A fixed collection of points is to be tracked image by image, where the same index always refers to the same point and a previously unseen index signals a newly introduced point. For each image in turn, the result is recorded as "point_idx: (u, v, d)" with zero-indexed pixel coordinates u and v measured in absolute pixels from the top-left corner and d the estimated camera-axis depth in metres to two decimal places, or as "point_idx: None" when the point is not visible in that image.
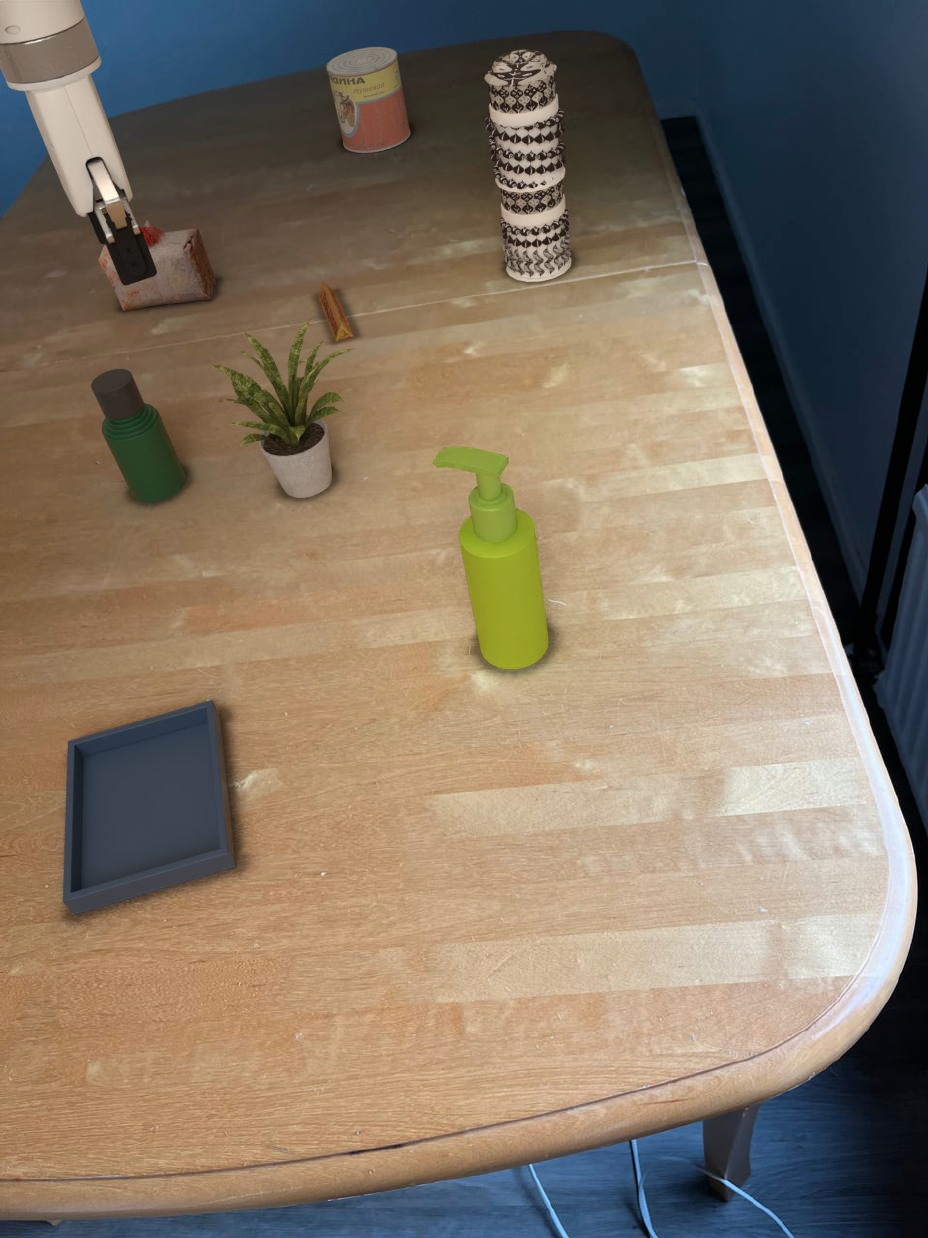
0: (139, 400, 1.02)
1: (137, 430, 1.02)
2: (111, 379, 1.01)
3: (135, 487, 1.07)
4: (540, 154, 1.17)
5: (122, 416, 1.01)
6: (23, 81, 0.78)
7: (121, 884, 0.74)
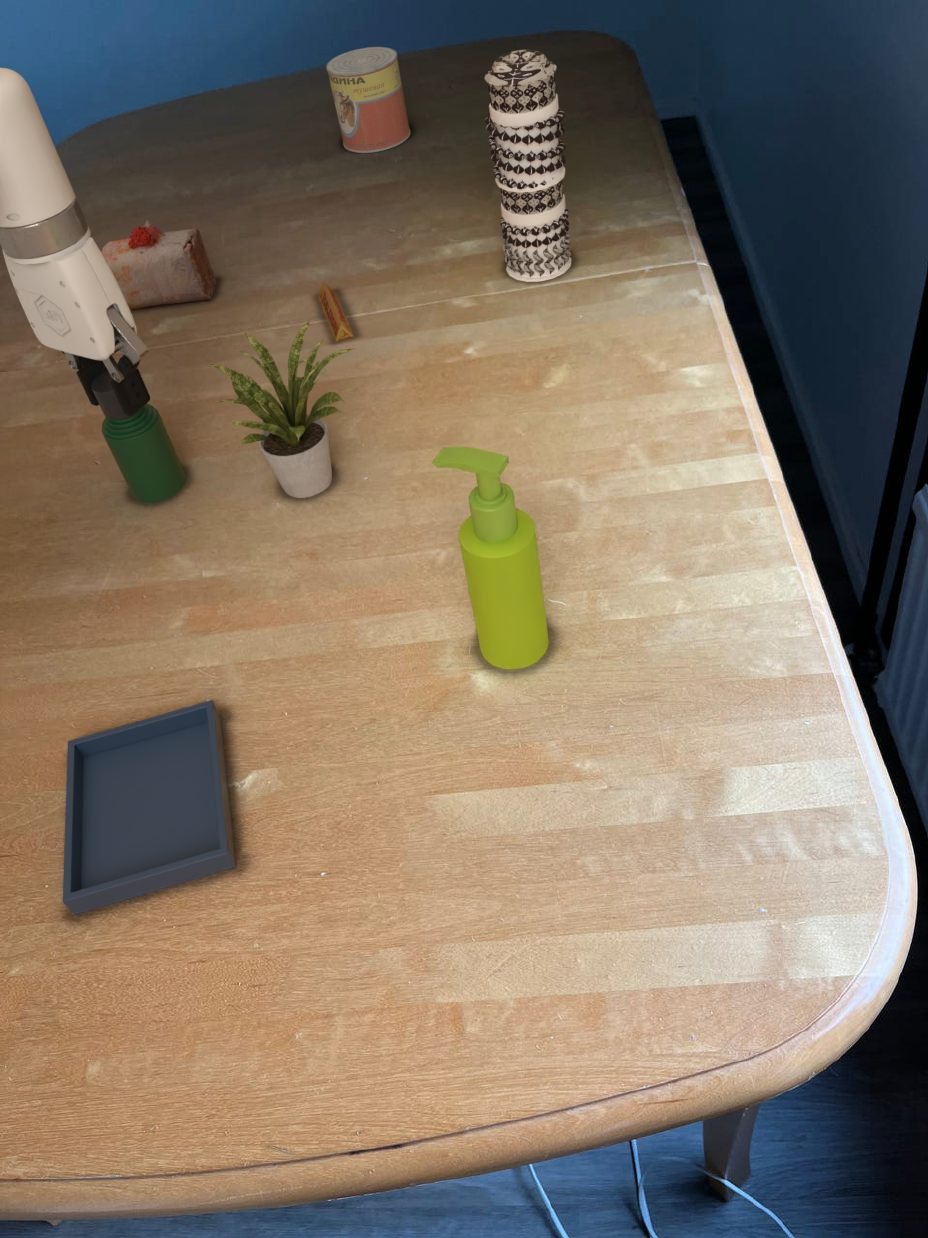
0: None
1: (137, 430, 1.02)
2: (111, 379, 1.01)
3: (135, 487, 1.07)
4: (540, 154, 1.17)
5: (122, 416, 1.01)
6: (43, 254, 0.87)
7: (121, 884, 0.74)
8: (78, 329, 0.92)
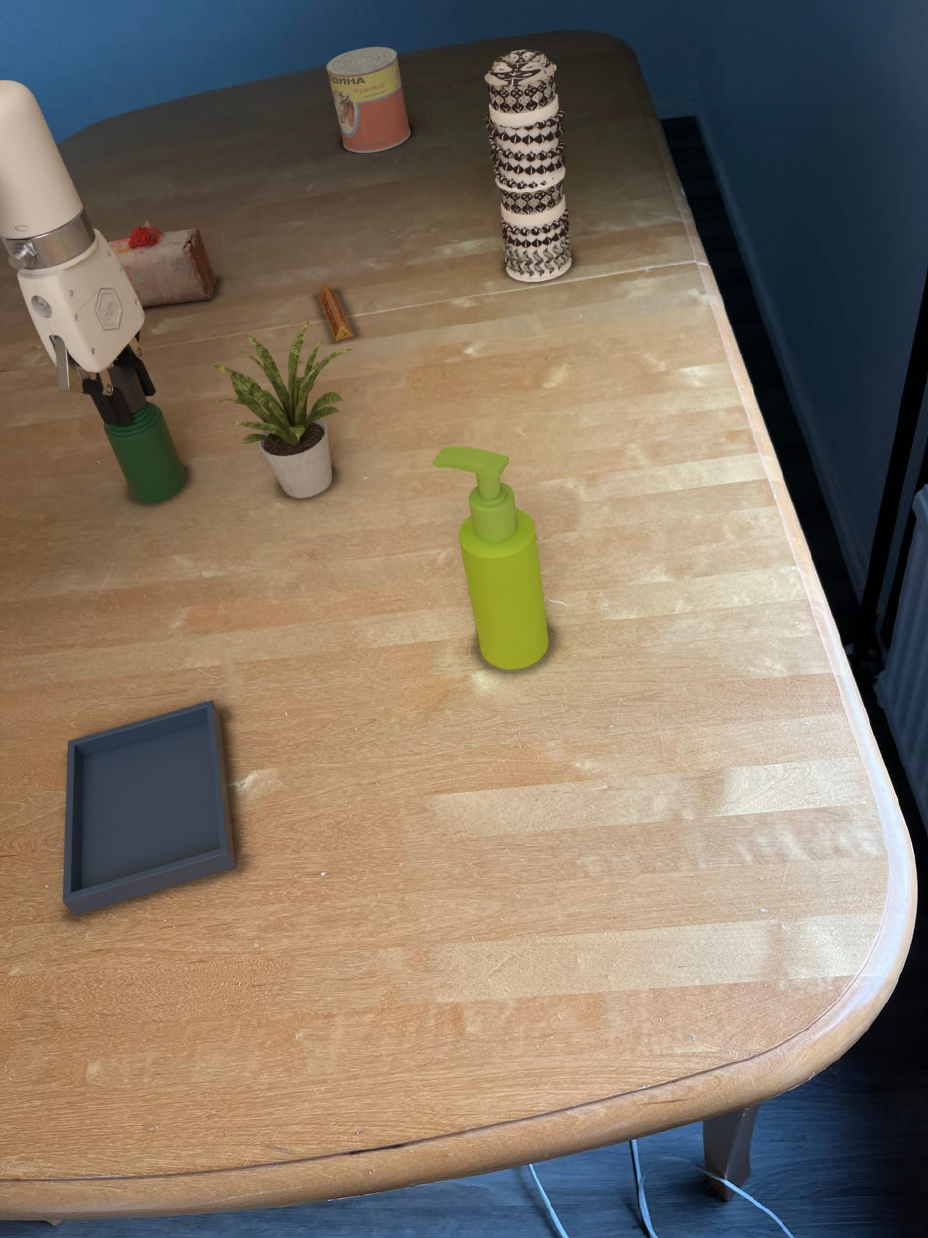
0: None
1: (140, 428, 1.02)
2: (113, 376, 1.00)
3: (135, 485, 1.07)
4: (540, 154, 1.17)
5: (144, 395, 1.03)
6: None
7: (121, 884, 0.74)
8: (127, 300, 0.97)
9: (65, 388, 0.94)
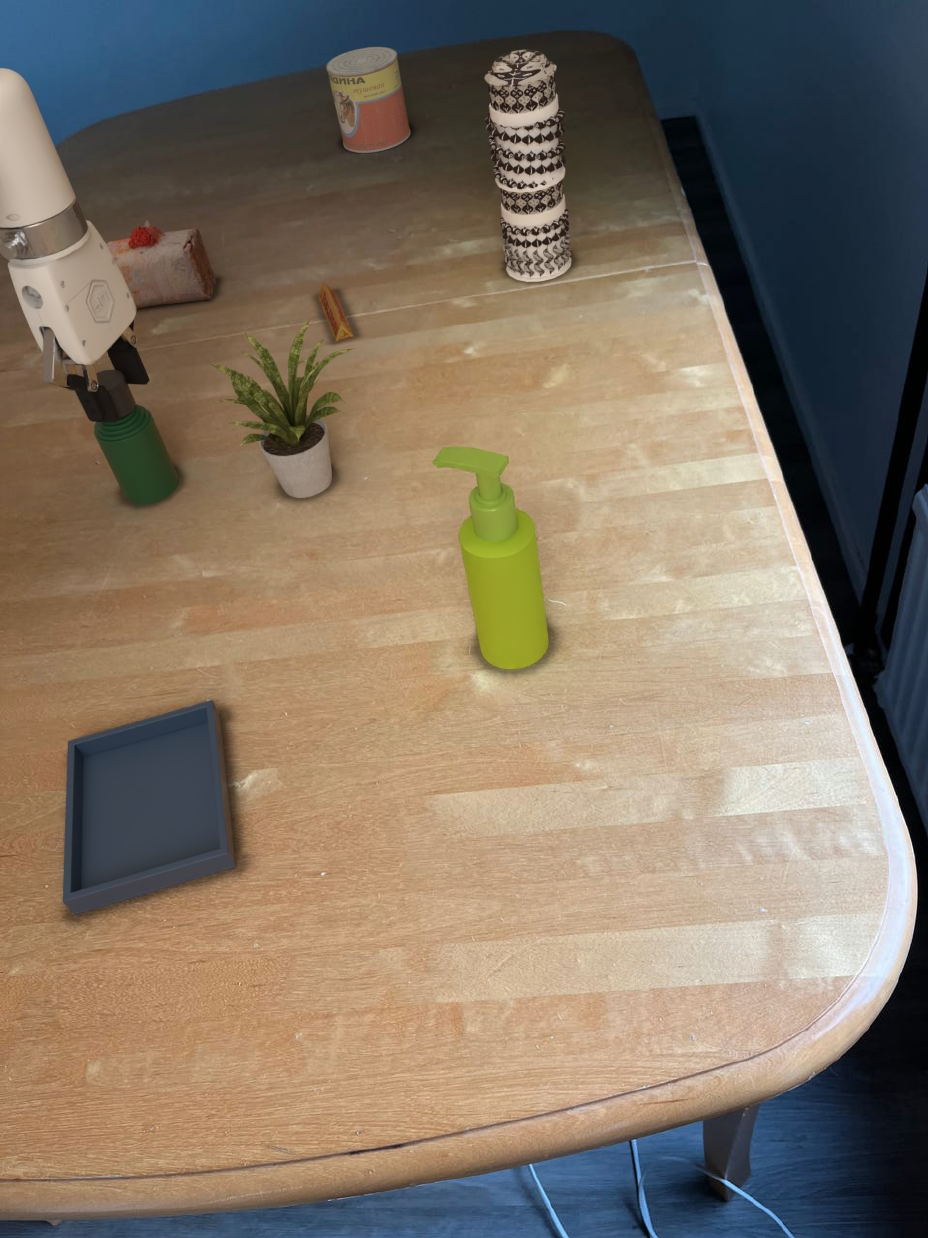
0: None
1: (129, 432, 1.02)
2: (101, 381, 1.00)
3: (127, 488, 1.07)
4: (540, 154, 1.17)
5: (133, 399, 1.03)
6: None
7: (121, 884, 0.74)
8: (119, 293, 0.96)
9: (49, 378, 0.92)
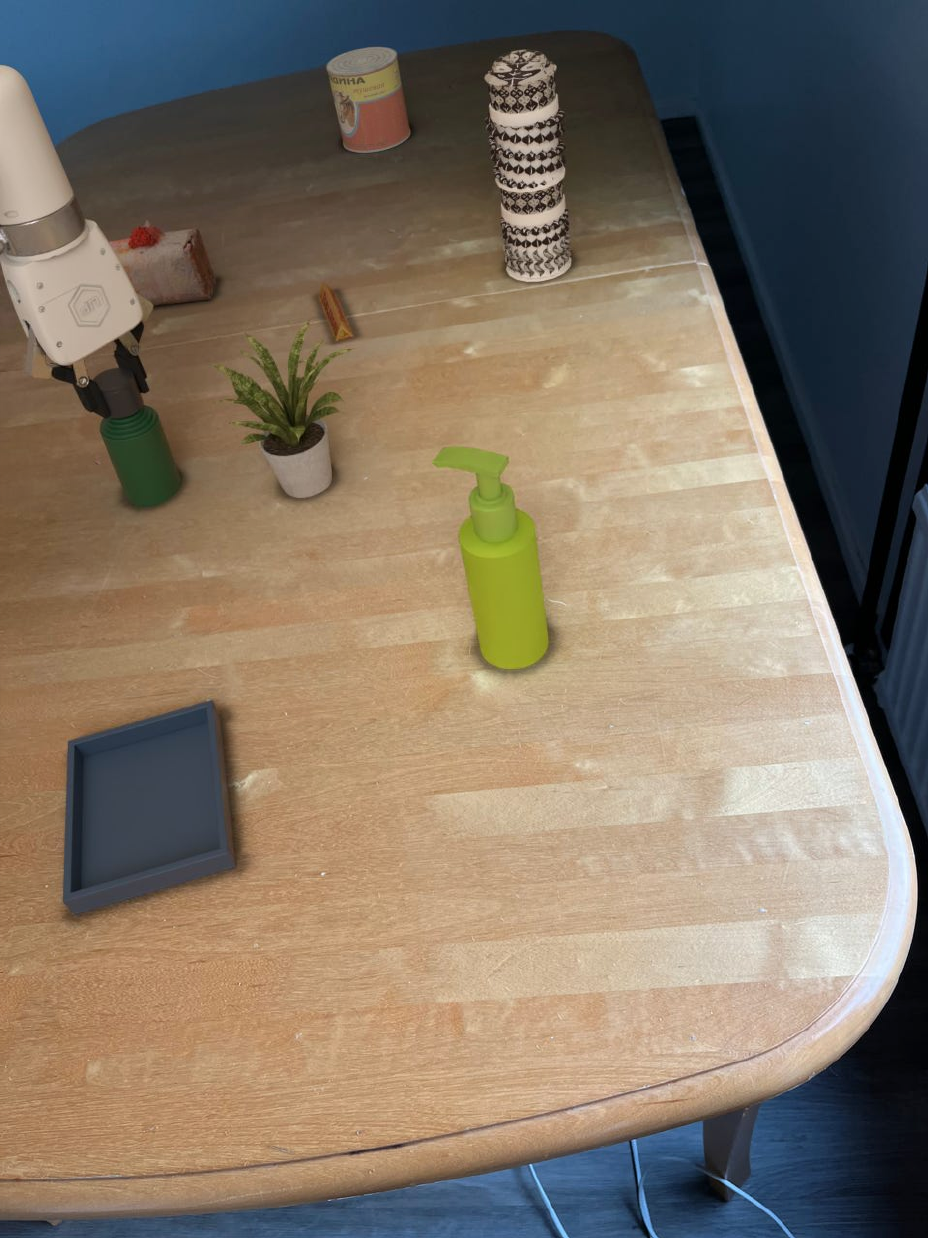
0: None
1: (138, 430, 1.02)
2: (112, 379, 1.00)
3: (132, 488, 1.06)
4: (540, 154, 1.17)
5: None
6: (84, 226, 0.90)
7: (121, 884, 0.74)
8: (119, 299, 0.95)
9: (29, 372, 0.94)
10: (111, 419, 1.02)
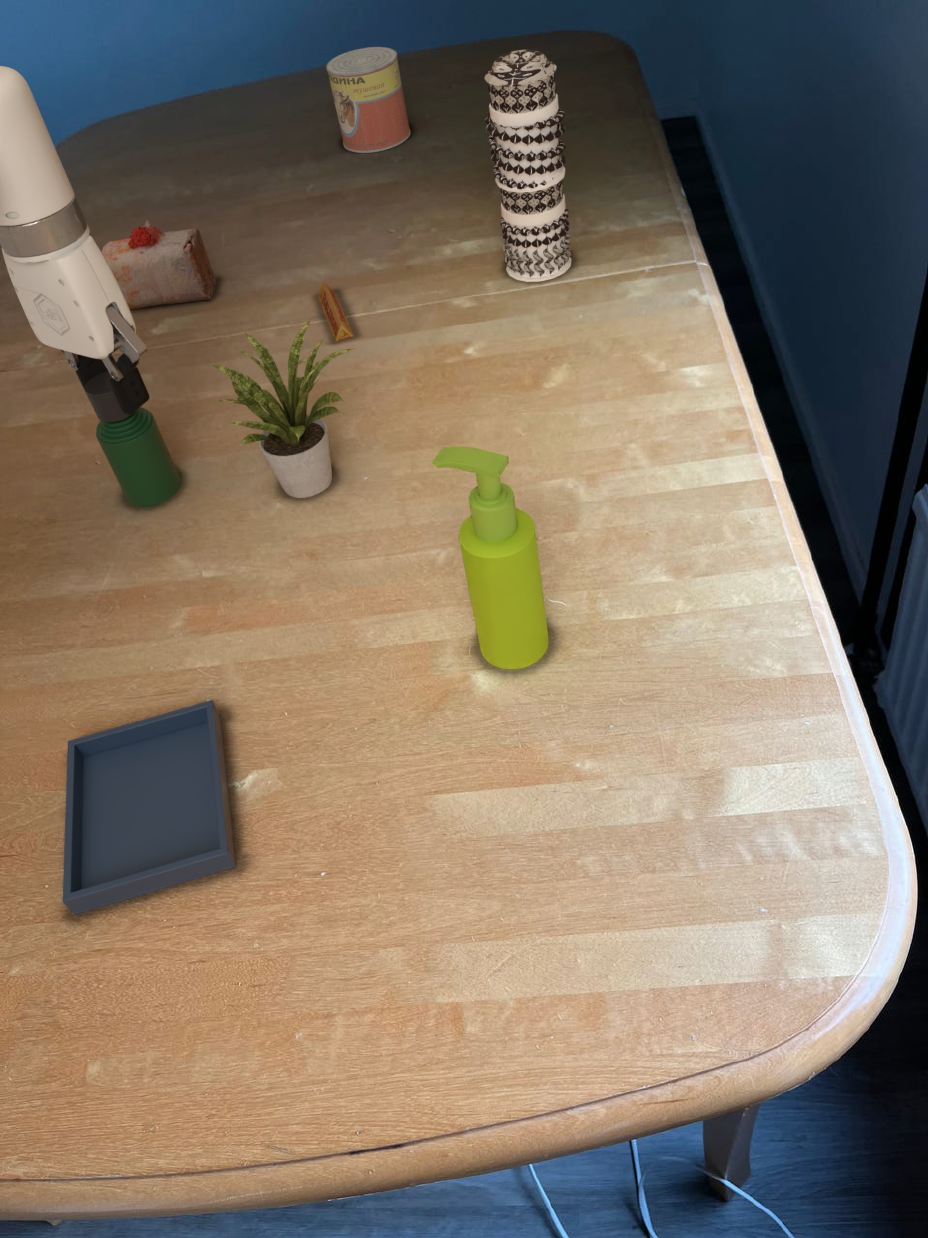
0: (94, 409, 1.01)
1: (133, 433, 1.02)
2: (105, 383, 1.00)
3: (131, 491, 1.06)
4: (540, 154, 1.17)
5: None
6: (42, 253, 0.87)
7: (121, 884, 0.74)
8: (77, 328, 0.92)
9: None
10: (106, 423, 1.02)
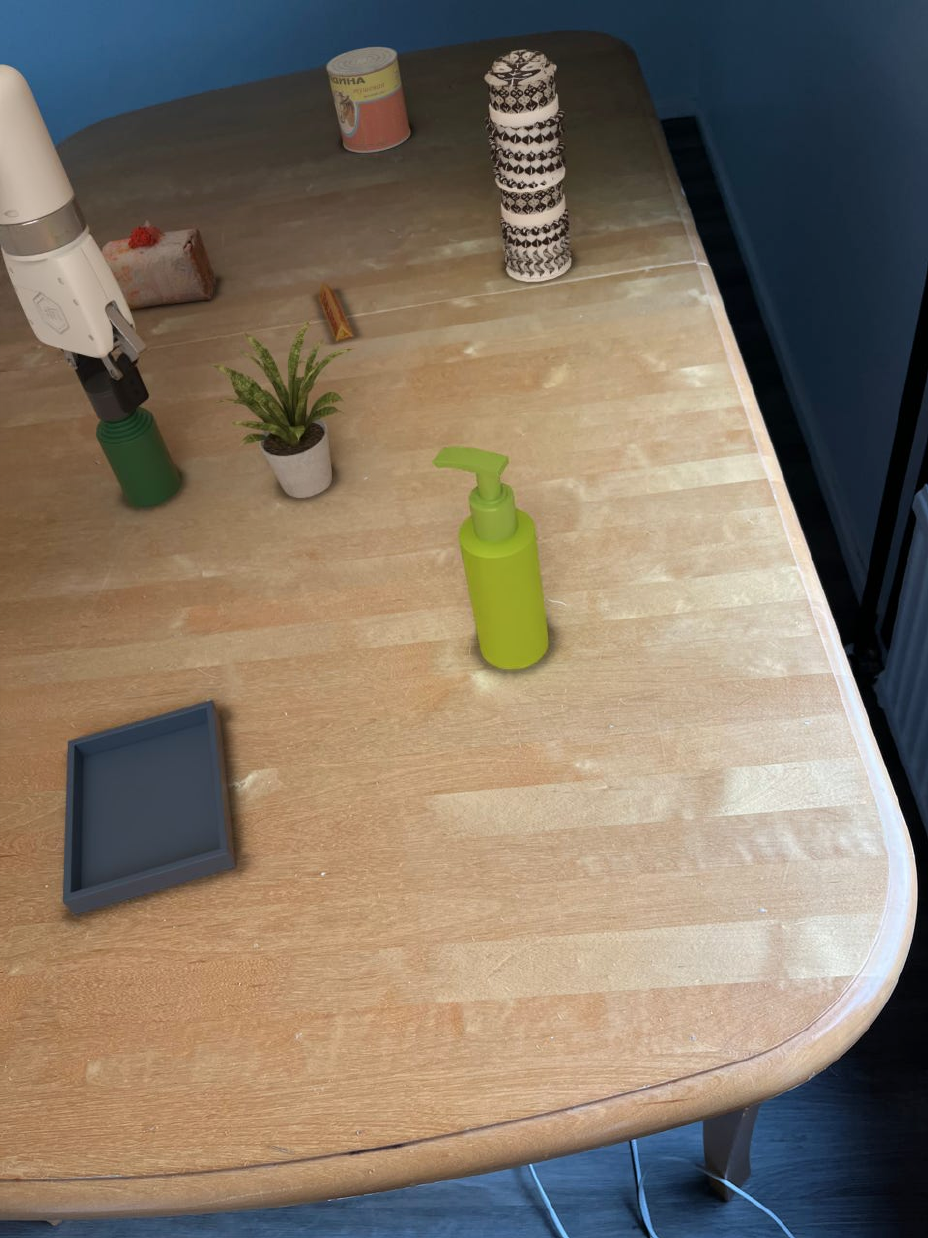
0: (122, 410, 1.00)
1: (133, 433, 1.02)
2: (105, 380, 1.00)
3: (131, 491, 1.06)
4: (540, 154, 1.17)
5: (103, 418, 1.01)
6: (41, 251, 0.87)
7: (121, 884, 0.74)
8: (77, 326, 0.92)
9: None
10: (106, 423, 1.02)
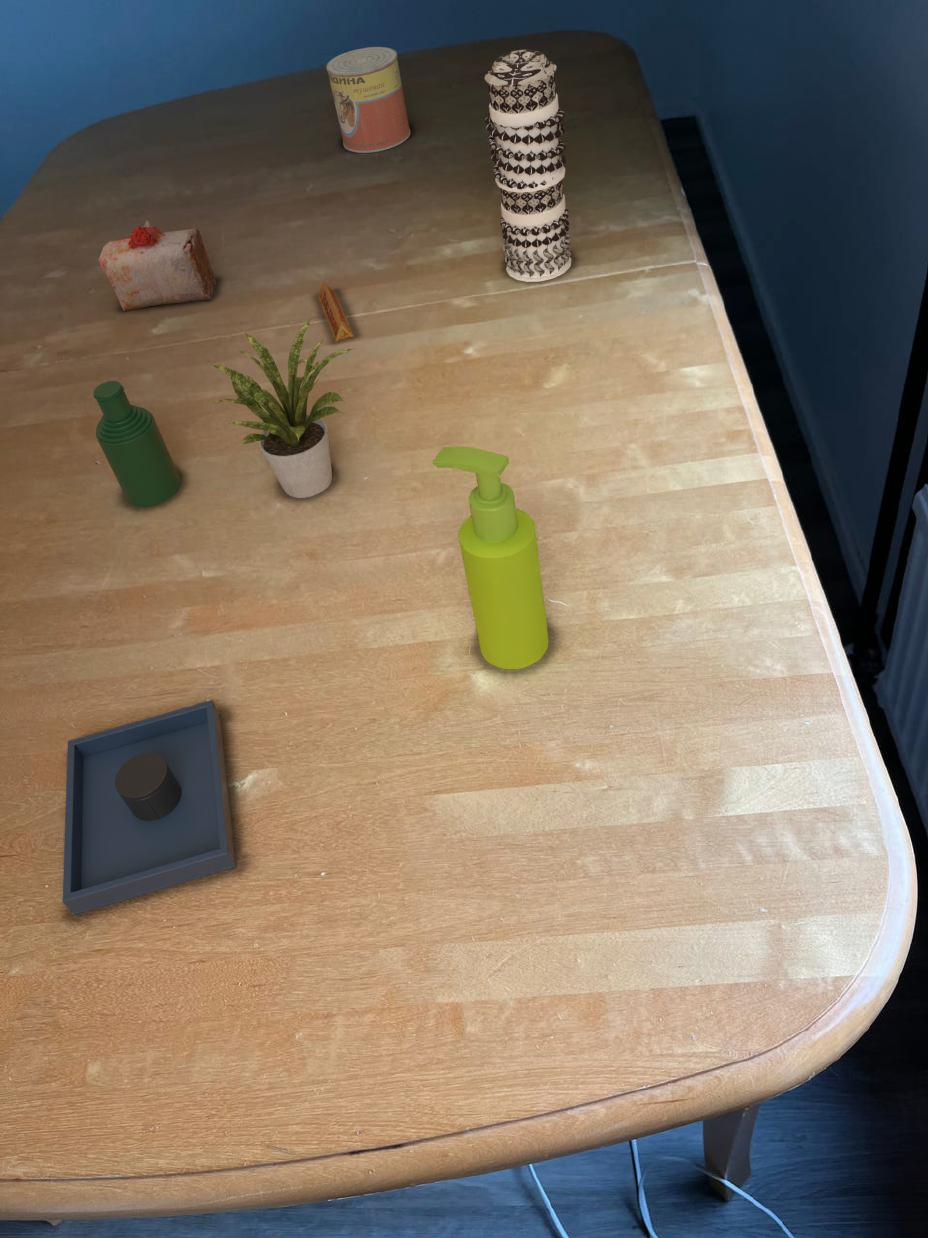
0: None
1: (133, 433, 1.02)
2: (139, 776, 0.78)
3: (131, 491, 1.06)
4: (540, 154, 1.17)
5: None
6: None
7: (121, 884, 0.74)
8: None
9: None
10: (106, 423, 1.02)
